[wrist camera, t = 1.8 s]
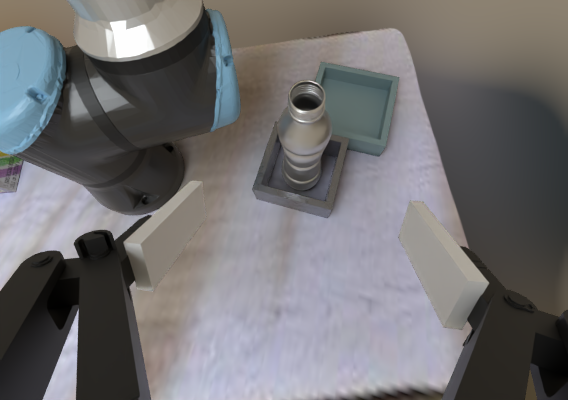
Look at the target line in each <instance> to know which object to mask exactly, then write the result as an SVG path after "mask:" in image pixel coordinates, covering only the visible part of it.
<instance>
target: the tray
mask: <svg viewBox="0 0 568 400" xmlns="http://www.w3.org/2000/svg"><path fill="white" fill-rule="evenodd" d="M315 82H317V83H318V84H320V85H321V86H322V87H323V89H324V91H325V97H326V99H325V109H326V111H327V112H328V114H329V116H330V119H331V123H332V135H337V136H341V137H345V138H349V142H348V146H347V149H349V150H353V151H357V152H361V153H366V154H370V155H374V156H378V157H379V155H380V154H381V153H382V151H383V150H384V148H385V147H386V143H387V138H388V133H389V128H390V123H391V118H392V113H393V107H394V102H395V97H396V92H397V87H398V82H399V77H395V76H390V75H385V74H380V73H375V72H370V71H365V70H360V69H355V68H350V67H345V66H340V65H335V64H330V63H325V62H321V64H320V67H319V70H318V74H317V77H316V80H315Z"/></svg>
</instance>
